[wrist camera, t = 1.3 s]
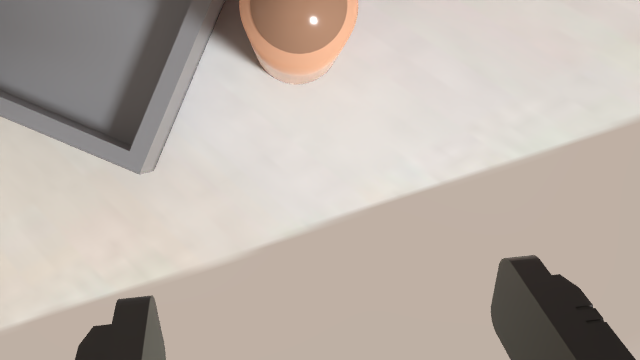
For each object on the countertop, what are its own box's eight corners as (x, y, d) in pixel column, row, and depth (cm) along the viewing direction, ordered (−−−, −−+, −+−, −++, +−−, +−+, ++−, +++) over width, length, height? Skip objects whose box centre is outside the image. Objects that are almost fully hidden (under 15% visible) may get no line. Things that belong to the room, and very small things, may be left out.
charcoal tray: (13, -161, 35) (-18, -194, 31) (247, -54, 36) (242, -74, 32) (-79, 73, 36) (-119, 66, 32) (153, 170, 37) (139, 174, 33)
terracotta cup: (273, -18, 36) (267, -78, 26) (353, 18, 37) (377, -27, 27) (239, 63, 36) (220, 35, 26) (318, 98, 37) (329, 83, 27)
